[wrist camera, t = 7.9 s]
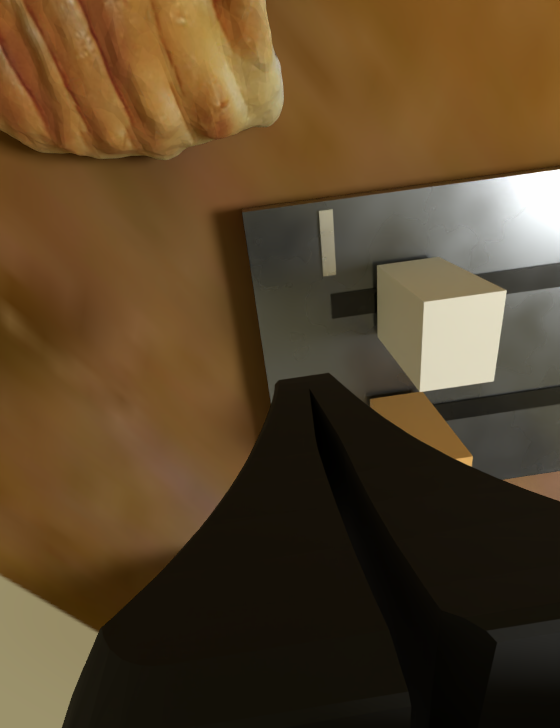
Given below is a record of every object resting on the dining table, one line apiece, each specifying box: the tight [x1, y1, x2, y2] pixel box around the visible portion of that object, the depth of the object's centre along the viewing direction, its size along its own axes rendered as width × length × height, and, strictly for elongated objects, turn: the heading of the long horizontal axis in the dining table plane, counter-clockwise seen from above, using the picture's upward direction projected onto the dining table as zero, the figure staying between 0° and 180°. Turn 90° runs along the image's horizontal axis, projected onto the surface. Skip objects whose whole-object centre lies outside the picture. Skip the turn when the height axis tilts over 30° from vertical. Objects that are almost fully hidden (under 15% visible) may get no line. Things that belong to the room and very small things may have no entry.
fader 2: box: [370, 392, 473, 467], centre depth 17 cm, size 3×2×4 cm
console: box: [242, 166, 560, 480], centre depth 19 cm, size 15×22×1 cm
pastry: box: [0, 0, 284, 160], centre depth 12 cm, size 9×7×4 cm
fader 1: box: [377, 257, 507, 392], centre depth 14 cm, size 3×2×4 cm
